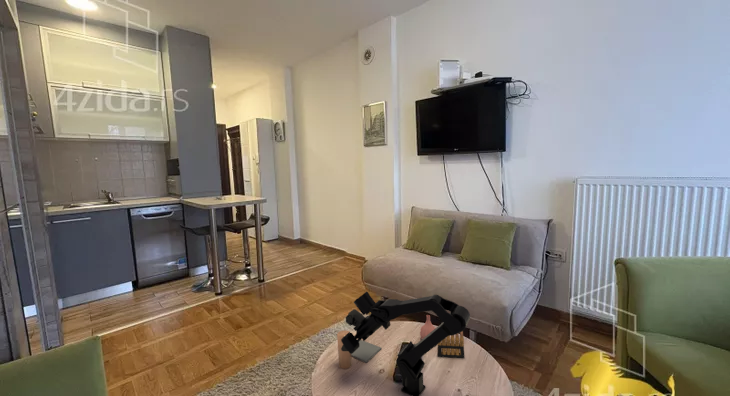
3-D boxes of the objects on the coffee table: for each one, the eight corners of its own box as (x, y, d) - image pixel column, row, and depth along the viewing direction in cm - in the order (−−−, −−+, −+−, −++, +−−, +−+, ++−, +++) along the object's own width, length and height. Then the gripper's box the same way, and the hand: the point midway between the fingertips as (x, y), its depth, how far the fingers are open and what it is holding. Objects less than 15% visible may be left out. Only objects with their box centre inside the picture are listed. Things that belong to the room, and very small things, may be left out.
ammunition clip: (437, 357, 123) (437, 329, 122) (437, 354, 125) (436, 326, 124) (464, 358, 122) (464, 330, 121) (463, 355, 123) (463, 328, 122)
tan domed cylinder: (354, 363, 121) (353, 332, 120) (346, 370, 117) (344, 339, 116) (344, 359, 125) (343, 329, 123) (336, 365, 120) (334, 335, 119)
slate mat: (381, 349, 130) (381, 347, 130) (366, 362, 121) (366, 361, 121) (361, 341, 137) (361, 339, 137) (345, 353, 128) (345, 352, 128)
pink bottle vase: (432, 335, 139) (432, 310, 138) (440, 344, 132) (440, 318, 131) (417, 338, 137) (416, 313, 136) (424, 347, 130) (424, 321, 129)
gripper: (370, 296, 122) (349, 316, 129) (344, 316, 107) (321, 338, 113) (388, 319, 119) (365, 338, 126) (364, 343, 103) (339, 364, 110)
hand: (348, 343), depth 119 cm, fingers open, 9 cm apart
